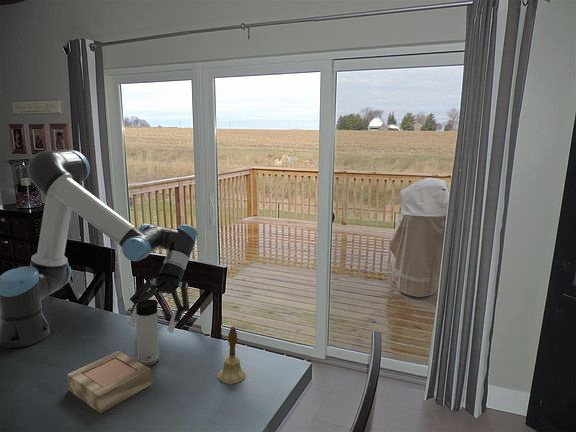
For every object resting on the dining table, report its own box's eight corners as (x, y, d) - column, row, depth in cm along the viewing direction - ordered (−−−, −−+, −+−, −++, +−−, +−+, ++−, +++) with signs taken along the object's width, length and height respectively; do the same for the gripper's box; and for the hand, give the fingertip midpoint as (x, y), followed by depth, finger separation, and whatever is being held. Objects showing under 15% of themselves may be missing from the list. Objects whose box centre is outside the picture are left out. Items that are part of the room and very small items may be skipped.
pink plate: (83, 378, 112) (83, 373, 112) (115, 363, 120) (115, 358, 120) (103, 392, 107) (103, 387, 106) (136, 375, 114) (135, 370, 114)
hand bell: (250, 371, 124) (251, 323, 121) (238, 387, 116) (238, 336, 113) (225, 365, 127) (226, 318, 123) (212, 380, 119) (212, 330, 116)
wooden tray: (68, 390, 112) (67, 374, 111) (119, 365, 124) (118, 350, 123) (100, 413, 103) (99, 396, 102) (151, 384, 116) (150, 368, 115)
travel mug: (153, 367, 124) (151, 306, 120) (134, 364, 125) (131, 304, 121) (163, 356, 130) (162, 298, 126) (144, 353, 131) (142, 296, 127)
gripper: (211, 276, 137) (191, 338, 126) (146, 267, 143) (121, 326, 131) (204, 266, 131) (182, 330, 119) (136, 257, 136) (109, 318, 125)
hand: (150, 328), depth 125 cm, fingers open, 13 cm apart
